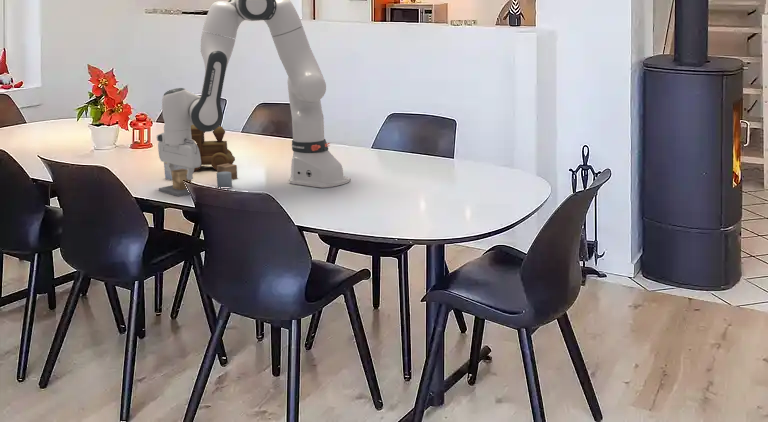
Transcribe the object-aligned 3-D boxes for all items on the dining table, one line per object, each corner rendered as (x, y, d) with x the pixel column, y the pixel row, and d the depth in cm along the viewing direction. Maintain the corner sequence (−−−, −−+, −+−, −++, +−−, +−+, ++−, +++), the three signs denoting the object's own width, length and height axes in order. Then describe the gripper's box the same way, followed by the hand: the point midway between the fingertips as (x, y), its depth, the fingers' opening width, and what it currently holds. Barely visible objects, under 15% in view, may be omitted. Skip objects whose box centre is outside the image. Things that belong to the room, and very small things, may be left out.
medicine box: (182, 174, 321) (180, 151, 319) (190, 176, 319) (188, 153, 316) (164, 178, 315) (162, 155, 313) (172, 180, 313) (170, 156, 310)
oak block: (191, 187, 297) (190, 170, 295) (180, 190, 294) (179, 172, 292) (184, 185, 300) (182, 168, 298) (173, 188, 297) (171, 170, 295)
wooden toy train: (178, 172, 325) (174, 128, 321) (184, 166, 336) (180, 123, 332) (231, 171, 326) (228, 127, 321) (236, 165, 337) (233, 122, 332)
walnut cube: (237, 178, 314) (236, 165, 312) (225, 181, 310) (225, 167, 309) (229, 176, 317) (228, 163, 316) (217, 179, 314) (216, 165, 312)
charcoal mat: (206, 190, 297) (206, 187, 297) (178, 196, 289) (178, 193, 289) (186, 185, 305) (185, 182, 305) (158, 191, 297) (158, 188, 297)
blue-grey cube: (235, 187, 301) (234, 172, 300) (223, 189, 298) (222, 175, 296) (226, 184, 304) (225, 170, 303) (214, 187, 301) (213, 173, 300)
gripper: (204, 139, 287) (207, 180, 291) (169, 132, 301) (172, 171, 305) (187, 142, 283) (191, 183, 287) (153, 135, 297) (157, 175, 300)
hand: (181, 177), depth 296 cm, fingers open, 8 cm apart
